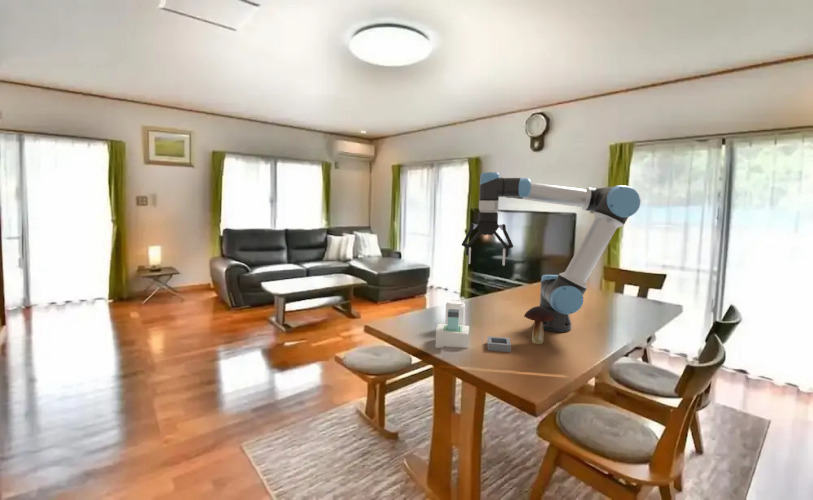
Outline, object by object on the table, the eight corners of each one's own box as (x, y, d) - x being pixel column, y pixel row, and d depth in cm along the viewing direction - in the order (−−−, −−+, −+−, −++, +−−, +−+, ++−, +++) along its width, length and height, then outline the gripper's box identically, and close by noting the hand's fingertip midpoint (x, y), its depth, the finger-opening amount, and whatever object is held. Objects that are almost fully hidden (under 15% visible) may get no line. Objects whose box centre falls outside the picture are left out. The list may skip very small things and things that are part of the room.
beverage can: (463, 333, 164) (464, 304, 163) (444, 331, 166) (444, 303, 165) (464, 327, 172) (465, 300, 171) (446, 326, 174) (446, 299, 173)
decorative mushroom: (519, 339, 158) (521, 302, 156) (547, 340, 157) (549, 303, 156) (526, 349, 147) (529, 309, 145) (557, 350, 147) (559, 310, 145)
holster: (508, 346, 150) (509, 337, 150) (510, 354, 142) (511, 345, 142) (487, 344, 151) (487, 336, 151) (487, 352, 144) (488, 343, 143)
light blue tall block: (458, 340, 153) (459, 309, 152) (457, 343, 149) (458, 312, 148) (447, 339, 154) (448, 309, 152) (446, 342, 150) (447, 311, 148)
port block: (468, 340, 155) (469, 325, 155) (468, 349, 146) (468, 333, 145) (437, 338, 157) (438, 323, 157) (435, 347, 148) (435, 331, 147)
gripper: (519, 212, 161) (517, 264, 164) (457, 210, 165) (455, 261, 168) (521, 212, 154) (519, 266, 156) (456, 211, 158) (455, 264, 160)
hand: (486, 264), depth 162 cm, fingers open, 13 cm apart
